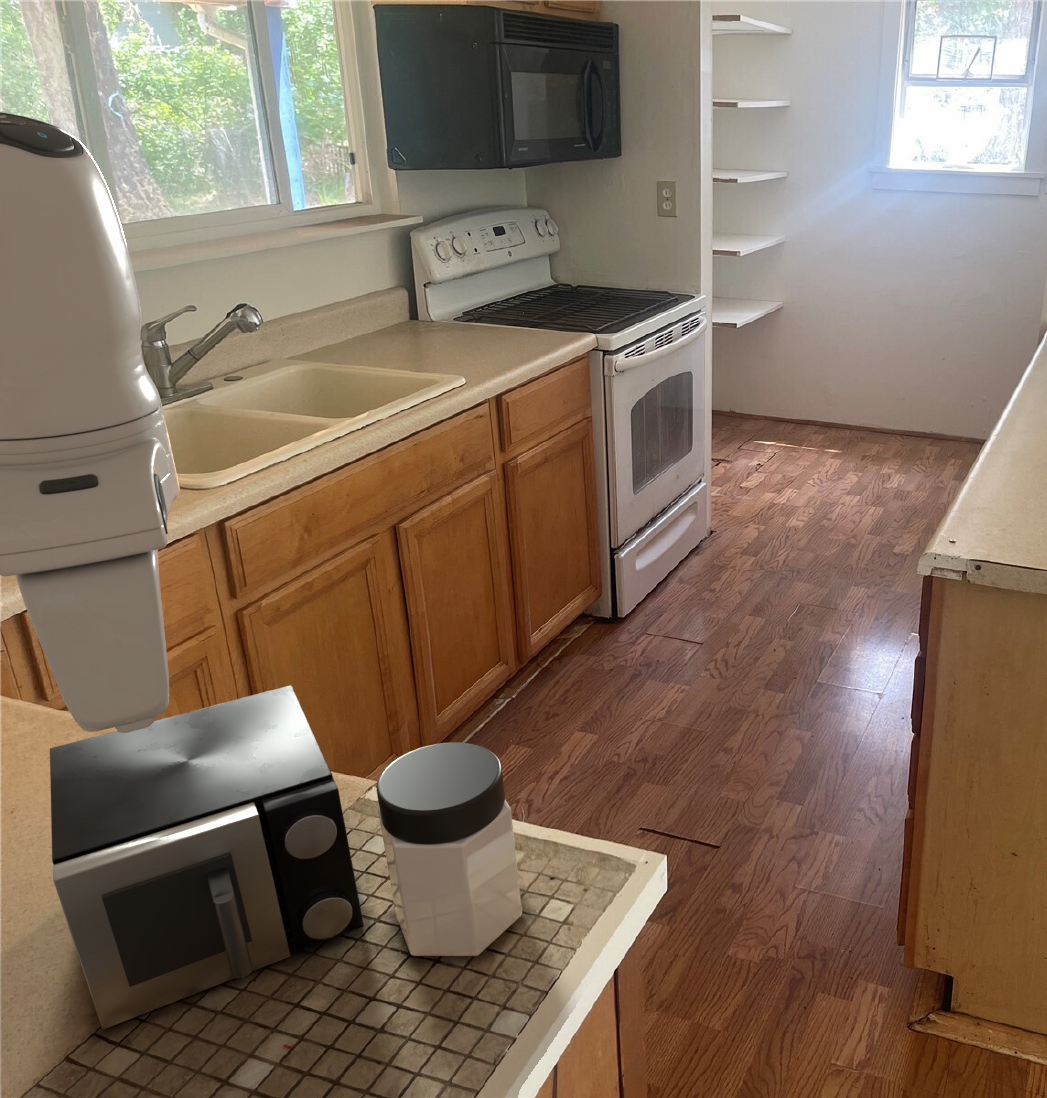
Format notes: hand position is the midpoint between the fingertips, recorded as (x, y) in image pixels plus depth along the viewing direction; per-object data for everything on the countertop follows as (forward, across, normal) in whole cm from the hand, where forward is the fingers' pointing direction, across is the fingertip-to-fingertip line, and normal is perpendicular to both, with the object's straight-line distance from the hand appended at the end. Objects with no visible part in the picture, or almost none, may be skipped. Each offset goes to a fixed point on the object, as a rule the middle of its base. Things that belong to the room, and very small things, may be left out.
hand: (134, 717), depth 55 cm
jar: (+23, -2, +16) cm, 28 cm away
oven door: (+23, -3, 0) cm, 23 cm away
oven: (+23, -11, +2) cm, 26 cm away
